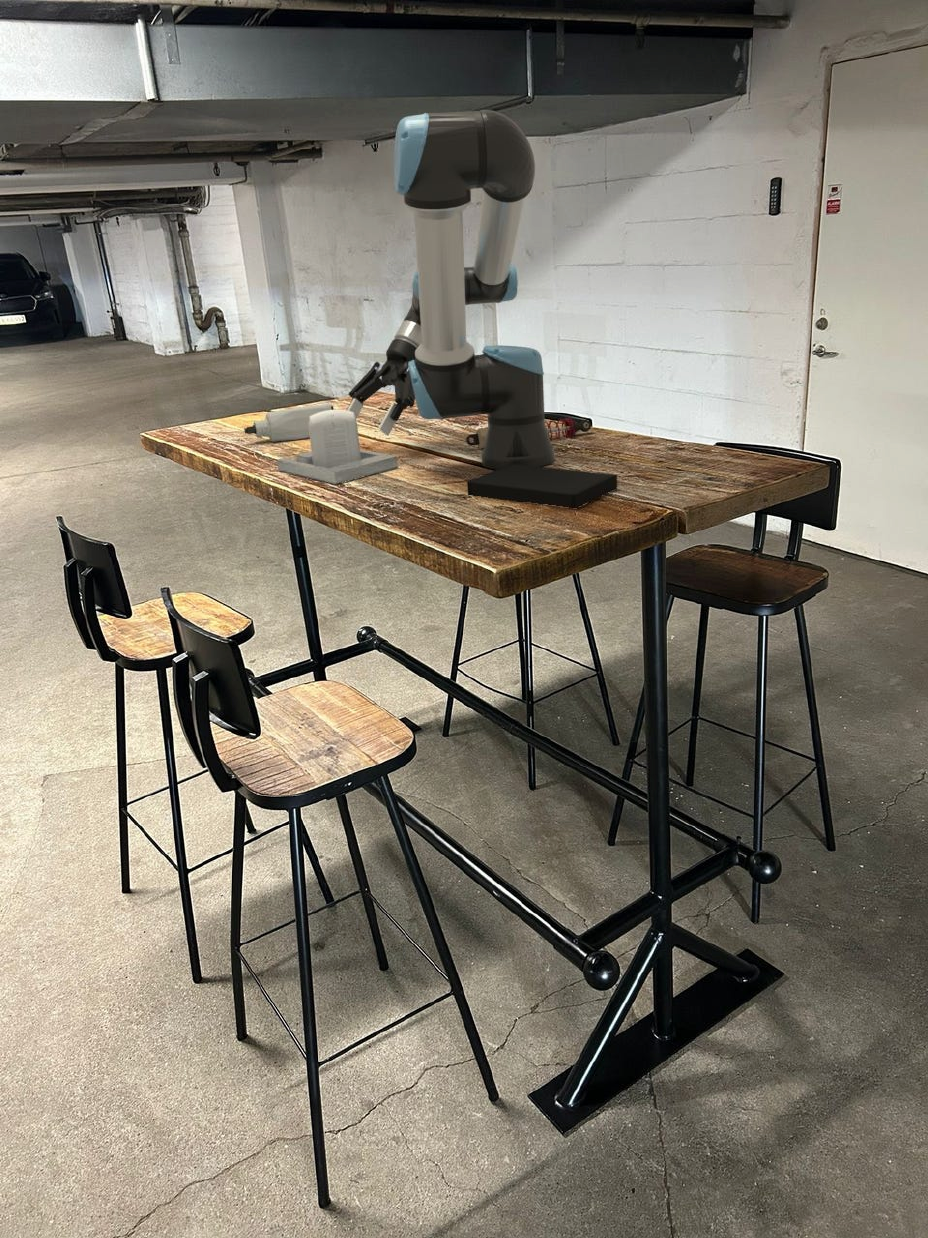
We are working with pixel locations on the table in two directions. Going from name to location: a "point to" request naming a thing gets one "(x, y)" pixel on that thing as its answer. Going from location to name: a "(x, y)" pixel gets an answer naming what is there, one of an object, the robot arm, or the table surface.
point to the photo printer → (334, 438)
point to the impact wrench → (286, 423)
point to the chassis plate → (338, 467)
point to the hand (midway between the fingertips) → (363, 429)
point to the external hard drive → (542, 485)
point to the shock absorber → (569, 427)
